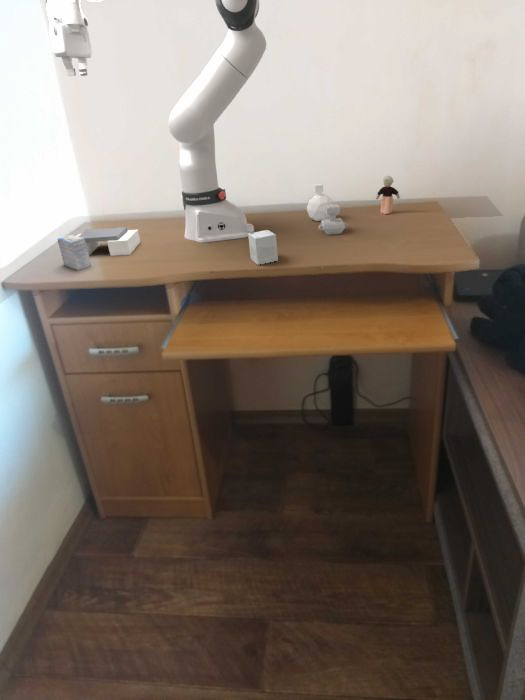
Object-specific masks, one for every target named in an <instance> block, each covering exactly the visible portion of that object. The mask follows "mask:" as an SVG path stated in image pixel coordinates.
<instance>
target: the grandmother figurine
mask: <svg viewBox="0 0 525 700" xmlns="http://www.w3.org/2000/svg"><path fill="white" fill-rule="evenodd" d="M382 181H383V187H381V188H380V189H379V191H377V194H376V196H375V199H376V200H379V199H380V196H381V195H382V196H381V201H380V202H381V203H380V212H379V214H380V215H381V214H382V213H384V214H382V215H390V214H389V213H391V214H392V213H393V208H394V203H393V202H394V201H393V200H394V197H393V195H395V197H396V198H397V199H400V198H401V195H400V193H399V190H397V189H396V188H395V187H393V186H392V184H393V183H394V179H393V177H392V176H390V175H385V176H384V177H383V179H382Z"/></svg>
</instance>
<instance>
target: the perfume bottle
mask: <svg viewBox="0 0 525 700" xmlns="http://www.w3.org/2000/svg"><path fill="white" fill-rule="evenodd" d="M314 186H315V193H316V195H313V196H312V197H311V198H309V200H308V202H307V207H306V211H307V213H308V214H307V215H308V217H309V218H311V220H314V221H315V222H321V221H322V220H323V219H329V215H328V214H327V213H326V210H325V205H333V204H334V200H333V198H332V197H330V196H328V195H327V194H325V193H324V183H315V185H314ZM323 193H324V194H323Z"/></svg>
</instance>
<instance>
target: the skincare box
mask: <svg viewBox="0 0 525 700" xmlns="http://www.w3.org/2000/svg"><path fill="white" fill-rule="evenodd" d="M247 238H248V246H249V254H250V255H249V256H250V260H251V261H252V262H253V263H255V265H258V266H260V264H261V265H266V264H269V263H270V262H271V263H274V261H276V262H278V261H279V255H278V253H279V252H278V245H277V234H276V233H273V232H272V231H270V230H269V229H264V230H260V231H256V232H255V231H254V233H249V234H248V237H247ZM265 263H266V264H265Z"/></svg>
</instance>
